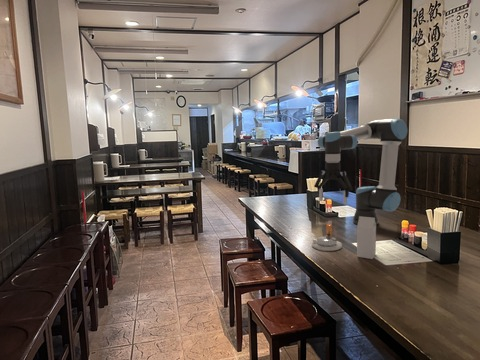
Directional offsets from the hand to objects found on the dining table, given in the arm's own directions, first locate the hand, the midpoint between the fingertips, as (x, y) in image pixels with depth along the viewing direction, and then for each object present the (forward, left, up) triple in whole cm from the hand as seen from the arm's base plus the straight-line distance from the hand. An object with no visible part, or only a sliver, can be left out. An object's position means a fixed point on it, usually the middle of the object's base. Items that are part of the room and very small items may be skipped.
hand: (332, 201), depth 184 cm
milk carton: (-18, +15, -22) cm, 33 cm away
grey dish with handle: (+2, +5, -21) cm, 21 cm away
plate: (+2, +7, -22) cm, 23 cm away
